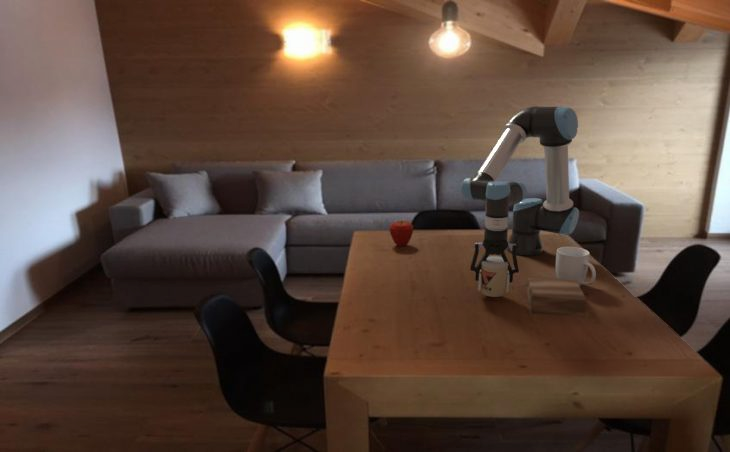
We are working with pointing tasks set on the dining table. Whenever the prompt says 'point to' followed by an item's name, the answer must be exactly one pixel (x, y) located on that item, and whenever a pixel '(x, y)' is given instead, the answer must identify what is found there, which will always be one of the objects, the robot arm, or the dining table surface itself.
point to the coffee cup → (494, 276)
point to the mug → (573, 265)
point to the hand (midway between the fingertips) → (493, 289)
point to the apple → (401, 232)
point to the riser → (556, 297)
